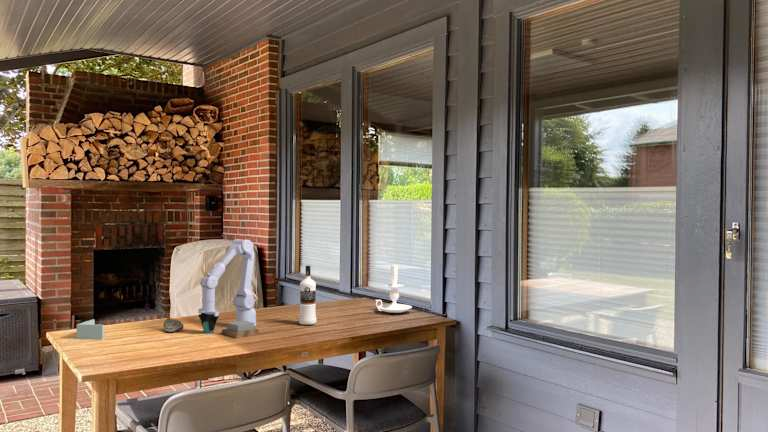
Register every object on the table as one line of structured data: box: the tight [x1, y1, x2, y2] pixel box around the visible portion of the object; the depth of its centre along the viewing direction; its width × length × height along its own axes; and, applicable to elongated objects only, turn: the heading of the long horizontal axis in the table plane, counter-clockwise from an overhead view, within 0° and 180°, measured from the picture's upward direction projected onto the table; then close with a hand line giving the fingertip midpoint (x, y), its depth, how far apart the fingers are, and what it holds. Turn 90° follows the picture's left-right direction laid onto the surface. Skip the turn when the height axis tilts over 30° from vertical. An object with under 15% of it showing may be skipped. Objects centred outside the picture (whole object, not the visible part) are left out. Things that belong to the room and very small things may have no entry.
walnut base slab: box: [221, 327, 259, 339], centre depth 273 cm, size 12×12×3 cm
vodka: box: [298, 265, 318, 326], centre depth 300 cm, size 9×9×30 cm
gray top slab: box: [226, 320, 255, 332], centre depth 273 cm, size 9×9×3 cm
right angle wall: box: [76, 318, 106, 341], centre depth 262 cm, size 12×12×8 cm
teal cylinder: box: [202, 321, 215, 335], centre depth 276 cm, size 5×5×5 cm
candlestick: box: [375, 264, 413, 314], centre depth 333 cm, size 21×25×28 cm
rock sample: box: [163, 317, 185, 333], centre depth 277 cm, size 10×8×9 cm
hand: (208, 329), depth 276 cm, fingers closed on teal cylinder, 5 cm apart
